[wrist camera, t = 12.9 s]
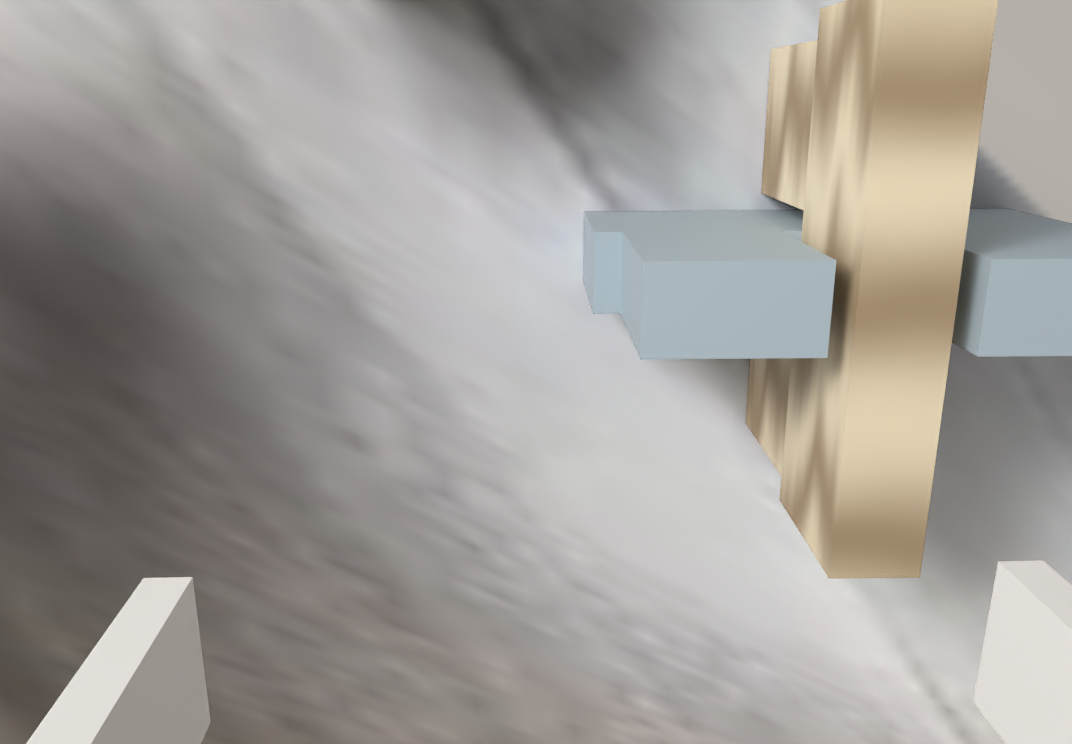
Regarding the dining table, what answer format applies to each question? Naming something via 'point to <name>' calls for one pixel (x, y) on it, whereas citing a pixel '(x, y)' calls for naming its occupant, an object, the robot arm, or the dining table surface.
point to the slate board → (809, 283)
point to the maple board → (872, 266)
